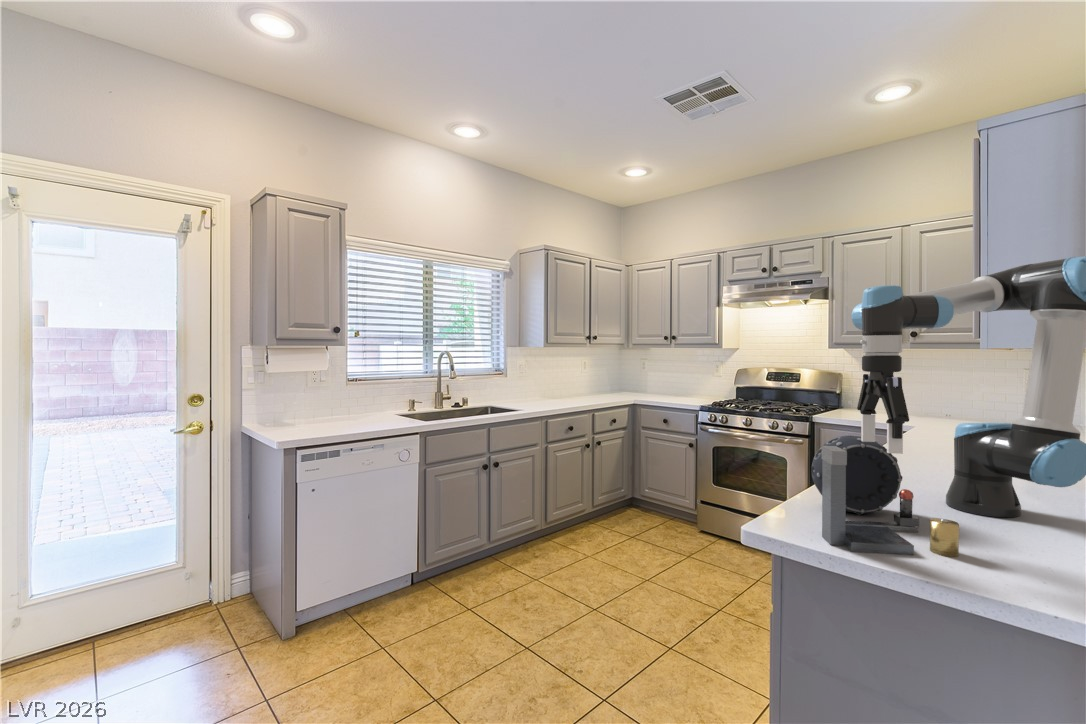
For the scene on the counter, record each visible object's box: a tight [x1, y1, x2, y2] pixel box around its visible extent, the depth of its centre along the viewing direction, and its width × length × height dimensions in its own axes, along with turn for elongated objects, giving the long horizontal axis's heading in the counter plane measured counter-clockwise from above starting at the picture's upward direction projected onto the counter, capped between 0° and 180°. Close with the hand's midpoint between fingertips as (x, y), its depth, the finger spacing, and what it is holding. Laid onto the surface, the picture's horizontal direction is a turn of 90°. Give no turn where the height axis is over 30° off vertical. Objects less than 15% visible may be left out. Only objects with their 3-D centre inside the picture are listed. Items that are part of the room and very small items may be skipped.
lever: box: [892, 488, 920, 527], centre depth 119 cm, size 4×3×8 cm
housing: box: [929, 517, 960, 558], centre depth 106 cm, size 5×5×7 cm
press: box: [821, 445, 919, 556], centre depth 113 cm, size 23×17×21 cm
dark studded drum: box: [811, 435, 903, 515], centre depth 133 cm, size 11×20×20 cm, turn 78°
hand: (880, 447), depth 115 cm, fingers open, 13 cm apart
